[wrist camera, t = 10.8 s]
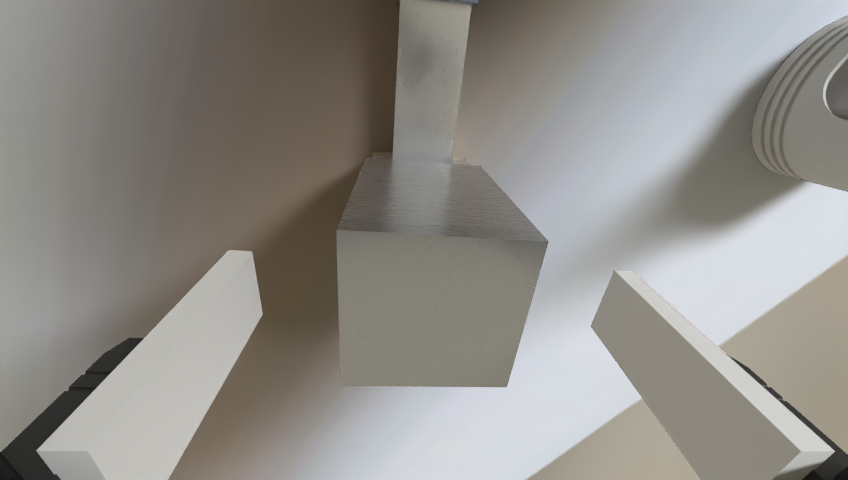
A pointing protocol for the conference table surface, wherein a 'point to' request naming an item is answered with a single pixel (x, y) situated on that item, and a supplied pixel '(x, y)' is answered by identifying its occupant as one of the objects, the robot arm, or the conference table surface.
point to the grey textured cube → (432, 276)
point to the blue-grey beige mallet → (429, 79)
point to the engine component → (808, 112)
